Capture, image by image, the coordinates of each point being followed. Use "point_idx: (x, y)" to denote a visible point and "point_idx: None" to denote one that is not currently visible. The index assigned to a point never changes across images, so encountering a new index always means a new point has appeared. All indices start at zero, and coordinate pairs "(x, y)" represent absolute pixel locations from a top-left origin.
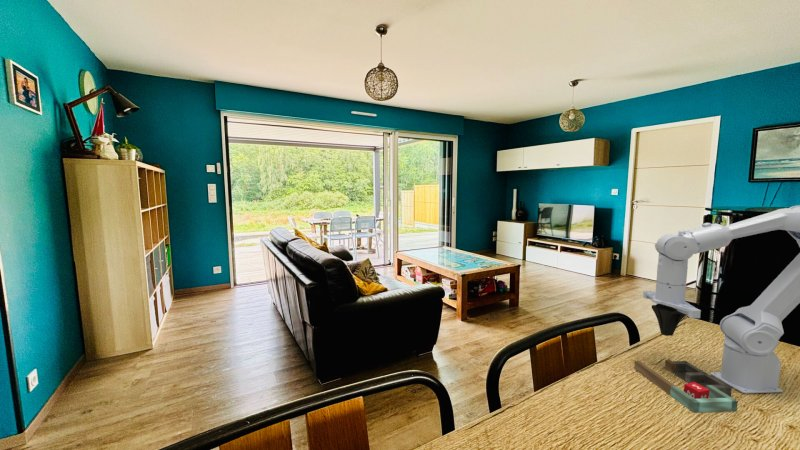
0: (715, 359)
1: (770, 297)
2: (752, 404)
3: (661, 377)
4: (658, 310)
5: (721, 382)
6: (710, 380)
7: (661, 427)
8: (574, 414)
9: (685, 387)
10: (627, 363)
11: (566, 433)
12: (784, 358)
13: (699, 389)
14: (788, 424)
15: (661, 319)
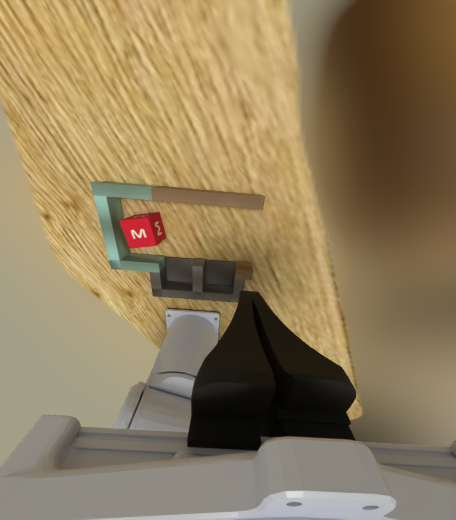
0: None
1: None
2: (142, 296)
3: (186, 197)
4: (280, 367)
5: (168, 295)
6: (181, 288)
7: (29, 39)
8: None
9: (148, 216)
10: (284, 199)
11: None
12: None
13: (128, 229)
14: (100, 295)
15: (263, 330)
